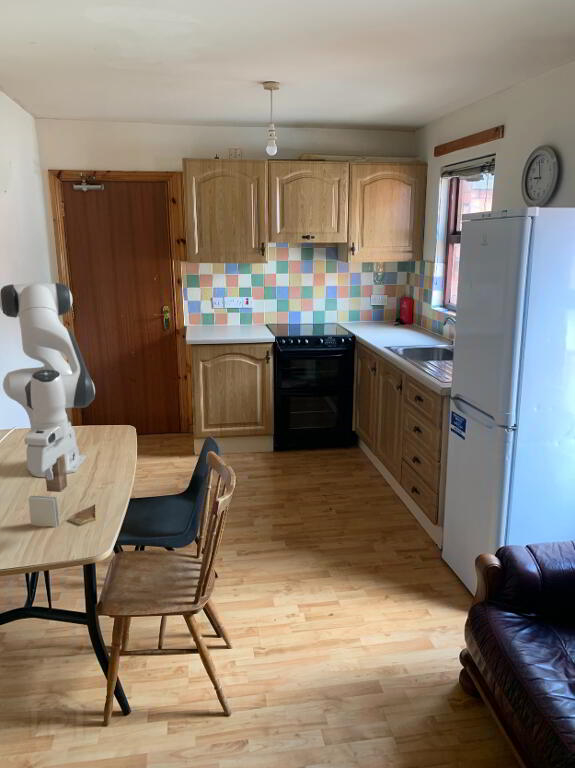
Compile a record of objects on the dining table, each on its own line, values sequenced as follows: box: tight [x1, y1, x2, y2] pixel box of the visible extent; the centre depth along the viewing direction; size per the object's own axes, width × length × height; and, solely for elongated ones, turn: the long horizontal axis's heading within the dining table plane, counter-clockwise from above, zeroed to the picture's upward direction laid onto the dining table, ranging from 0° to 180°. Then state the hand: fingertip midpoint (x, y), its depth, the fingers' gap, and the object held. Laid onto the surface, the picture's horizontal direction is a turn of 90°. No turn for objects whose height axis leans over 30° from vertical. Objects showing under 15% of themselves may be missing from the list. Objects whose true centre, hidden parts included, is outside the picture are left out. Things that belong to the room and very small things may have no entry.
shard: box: [67, 504, 97, 526], centre depth 181 cm, size 11×8×2 cm
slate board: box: [28, 495, 60, 528], centre depth 174 cm, size 2×8×9 cm, turn 83°
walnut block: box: [45, 454, 68, 493], centre depth 165 cm, size 4×4×10 cm
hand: (55, 475), depth 166 cm, fingers closed on walnut block, 4 cm apart
